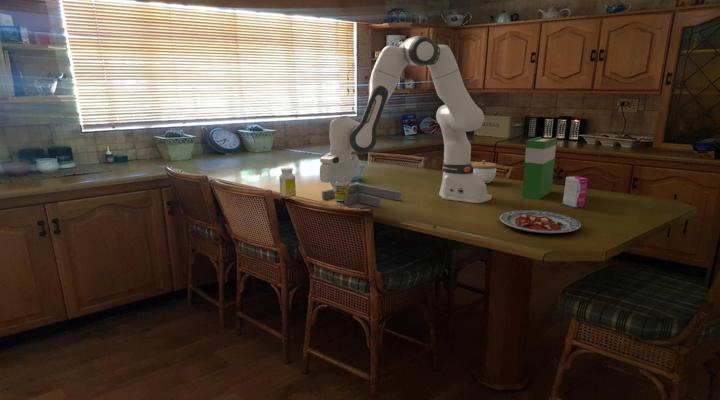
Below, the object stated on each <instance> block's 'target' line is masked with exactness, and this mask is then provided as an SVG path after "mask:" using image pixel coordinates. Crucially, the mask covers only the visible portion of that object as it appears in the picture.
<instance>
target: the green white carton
mask: <svg viewBox="0 0 720 400" xmlns="http://www.w3.org/2000/svg"><path fill="white" fill-rule="evenodd" d="M556 149H557V137H552V138H542V136H538V137H534V138H532V139H528V140H526V144H525V156H524V157H525V158H524V169H523V180H522V181H523V182H522V194H521V197H522V198H526V197H527V198H528V199H535V200H541V199H542V198H545V197H546V196H547V195H550V194H551V192H552V190H553V189H552V188H553V183H554V181H553V179H554V170H555V160H556V152H557V151H556Z"/></svg>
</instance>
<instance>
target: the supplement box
mask: <svg viewBox="0 0 720 400" xmlns="http://www.w3.org/2000/svg"><path fill="white" fill-rule="evenodd" d="M588 180H589V179H588V178H586V177H582V176H578V175H572V176H566V177H565V181H564V182H565V184H564V192H563V199H562V206H565V207H569V208H571V209H576V208H581V207H585V202H586V194H587V188H588Z"/></svg>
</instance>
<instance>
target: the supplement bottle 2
mask: <svg viewBox="0 0 720 400" xmlns="http://www.w3.org/2000/svg"><path fill="white" fill-rule="evenodd" d="M345 181H346V178H343V179H342V180H338V181H336V183H335V184H336V187H338V191H336V192H335V198H334V200H335V201H336V202H337V201H338V202H344V196H348V195H349V194H348V184H347V182H345Z"/></svg>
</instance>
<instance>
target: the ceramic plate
mask: <svg viewBox="0 0 720 400" xmlns="http://www.w3.org/2000/svg"><path fill="white" fill-rule="evenodd" d="M499 220H500V221H501V222H502V223H503V224H505V225H507V226H508V227H512V228H514V229H518V230H521V231H525V232H529V233H534V234H559V233H560V234H561V233H563V234H564V233H570V232H574V231H577V230H579V229H580V228H581V226H582V224H581V222H580V221H578V219H575V218H574V217H571V216H568V215H565V214H562V213H561V214H560V213H556V212H552V211H551V212H550V211H545V210H544V211H542V210H529V209H528V210H523V209H522V210H513V211H507V212H504V213H502V214H501V215H500V216H499Z"/></svg>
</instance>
